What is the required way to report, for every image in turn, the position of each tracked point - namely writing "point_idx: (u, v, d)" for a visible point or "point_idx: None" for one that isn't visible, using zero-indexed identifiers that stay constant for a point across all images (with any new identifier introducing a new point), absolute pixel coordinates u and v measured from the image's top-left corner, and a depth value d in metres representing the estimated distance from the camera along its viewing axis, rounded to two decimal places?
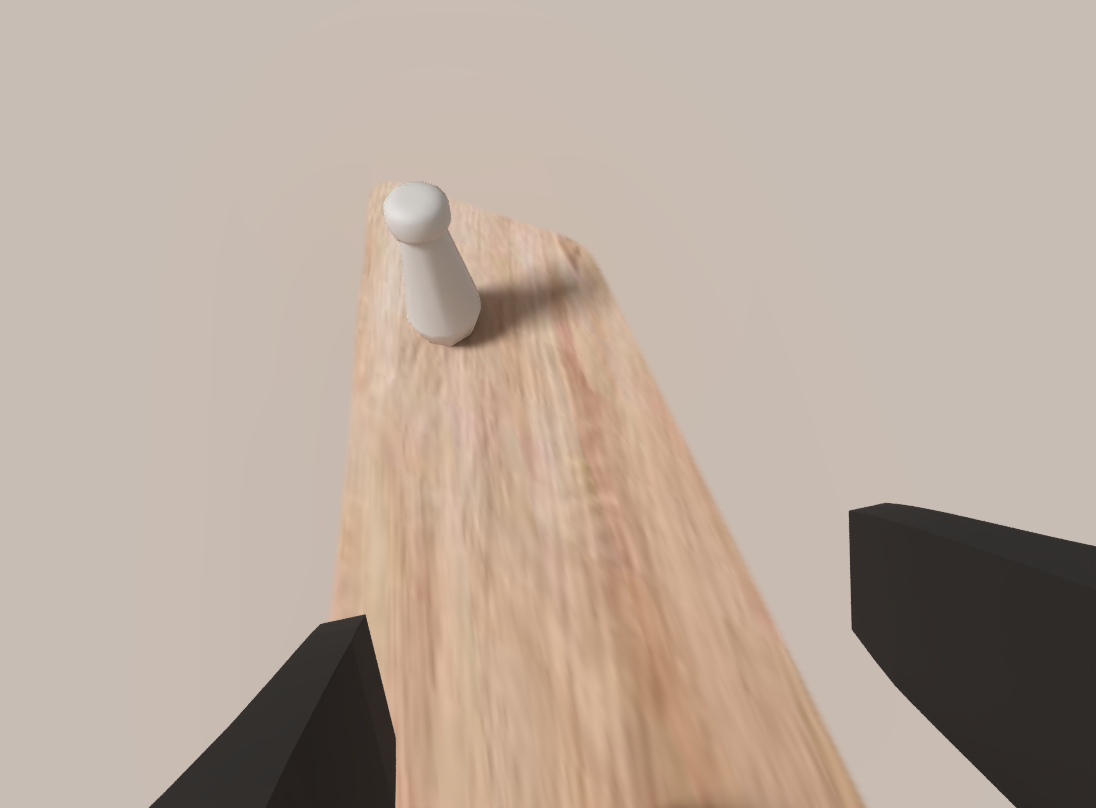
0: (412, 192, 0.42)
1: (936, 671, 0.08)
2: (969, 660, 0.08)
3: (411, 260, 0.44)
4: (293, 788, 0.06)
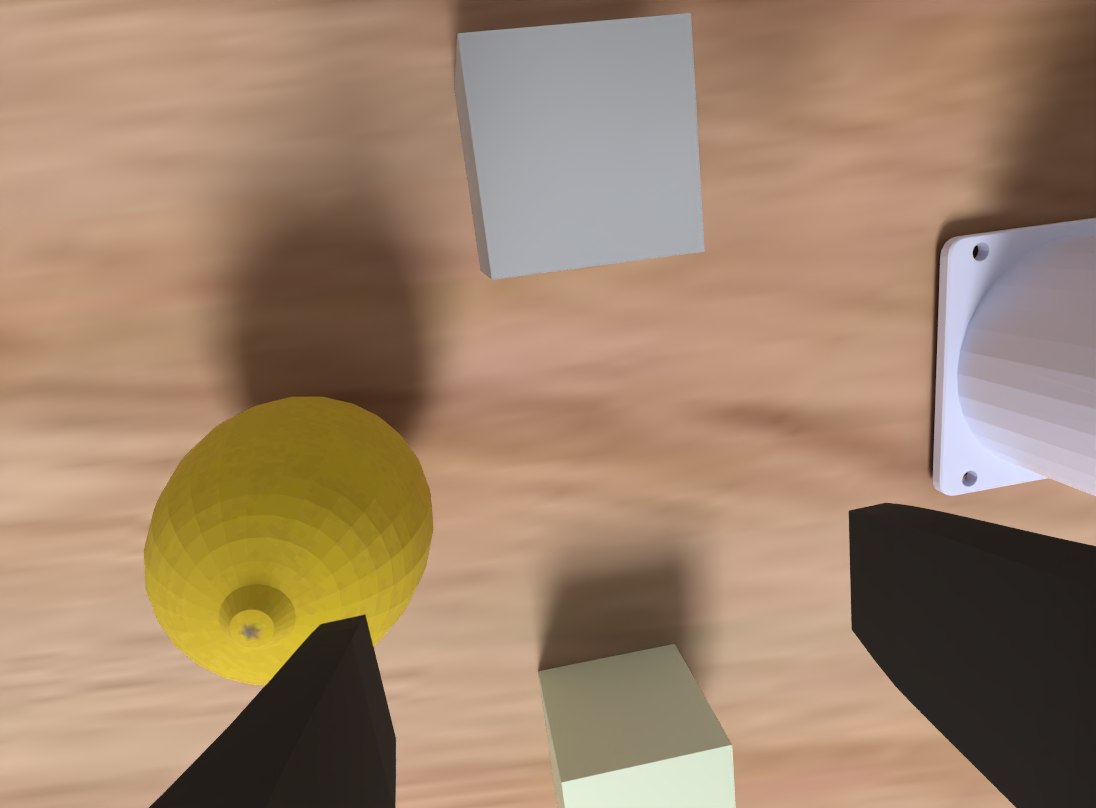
0: None
1: (936, 671, 0.08)
2: (969, 660, 0.08)
3: None
4: (292, 788, 0.05)
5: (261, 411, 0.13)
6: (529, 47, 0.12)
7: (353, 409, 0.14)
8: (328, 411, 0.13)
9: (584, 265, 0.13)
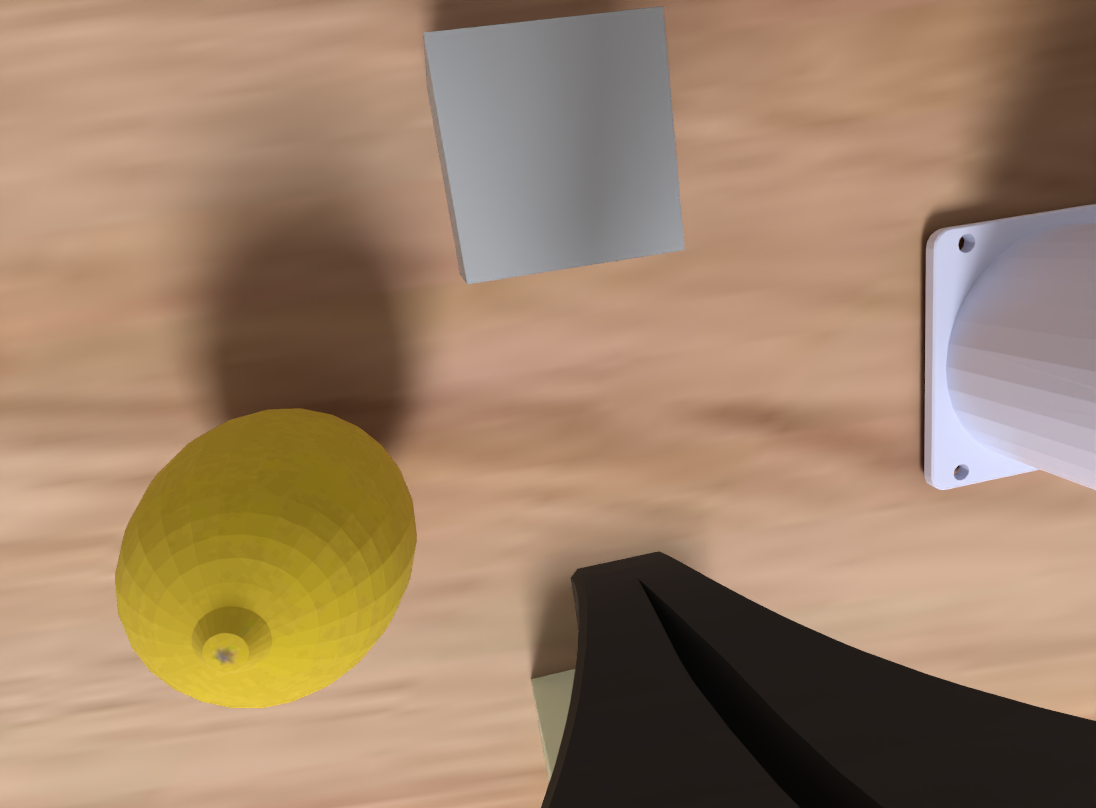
0: None
1: None
2: None
3: None
4: None
5: (235, 426, 0.13)
6: (498, 45, 0.12)
7: (331, 421, 0.14)
8: (304, 423, 0.13)
9: (562, 267, 0.13)
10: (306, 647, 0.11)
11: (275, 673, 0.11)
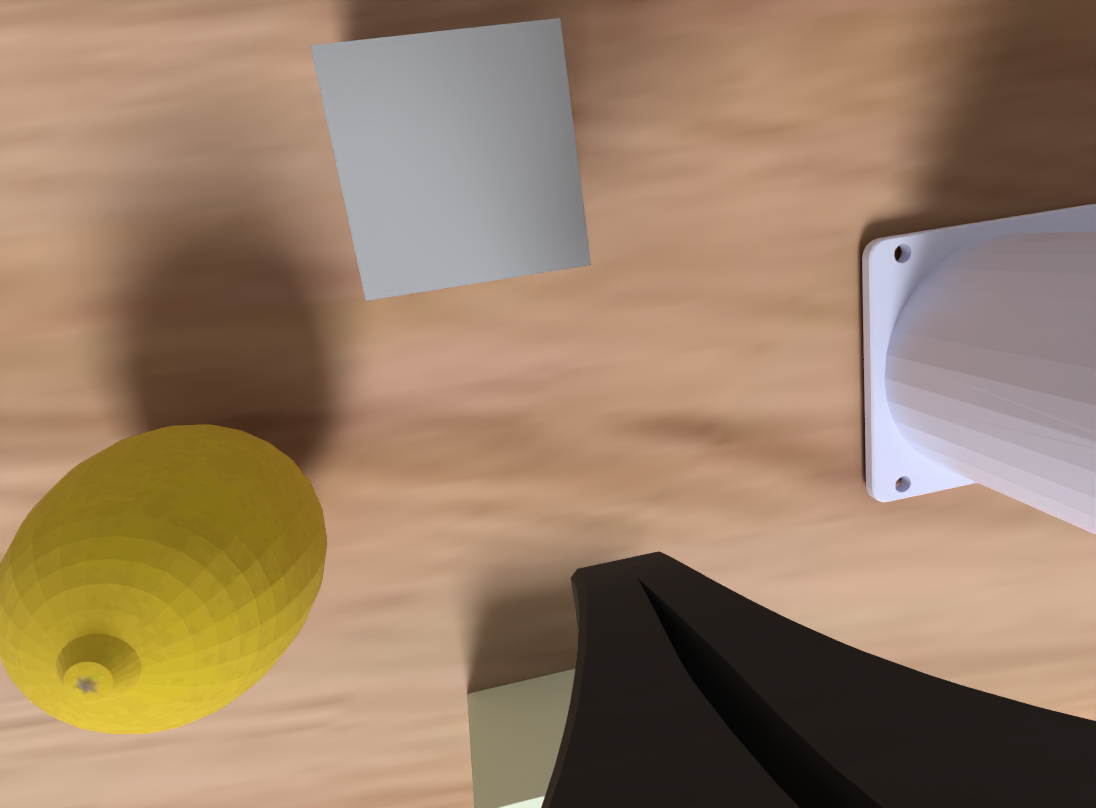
0: None
1: None
2: None
3: None
4: None
5: (127, 444, 0.13)
6: (389, 58, 0.12)
7: (233, 438, 0.14)
8: (200, 441, 0.13)
9: (464, 283, 0.13)
10: (181, 673, 0.11)
11: (149, 701, 0.11)
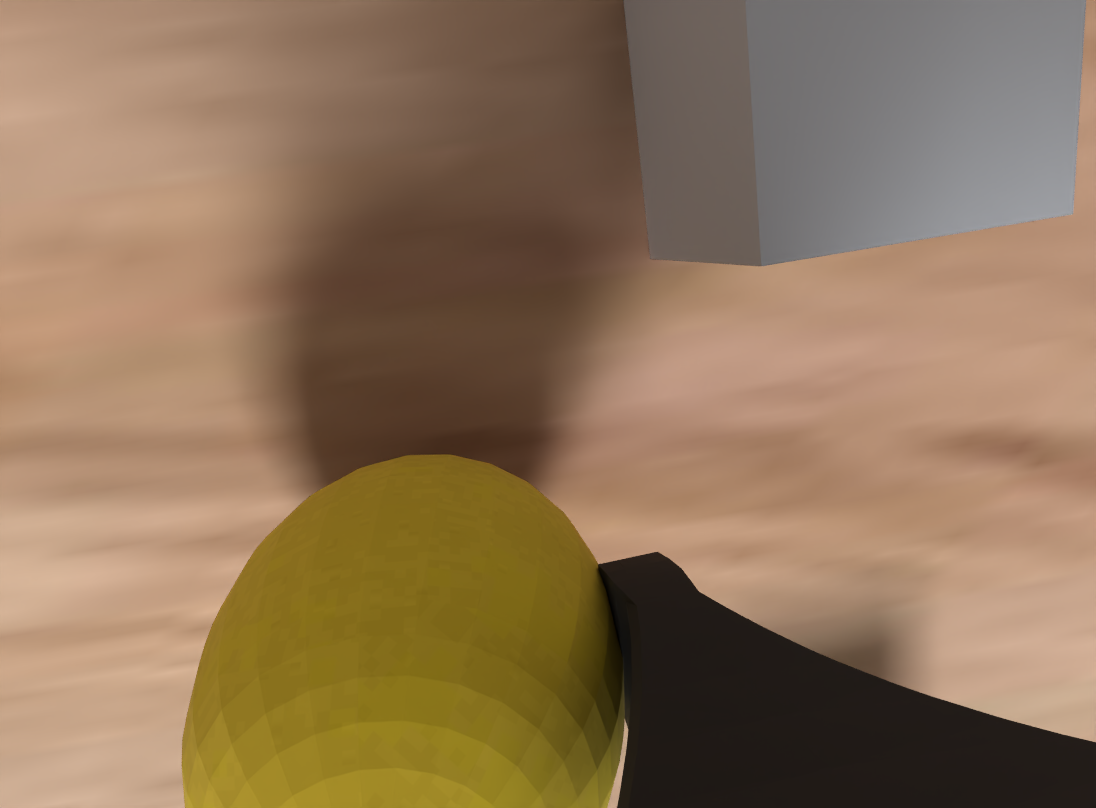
0: None
1: None
2: None
3: None
4: None
5: (365, 492, 0.08)
6: None
7: (501, 480, 0.09)
8: (468, 489, 0.08)
9: (898, 240, 0.08)
10: None
11: None
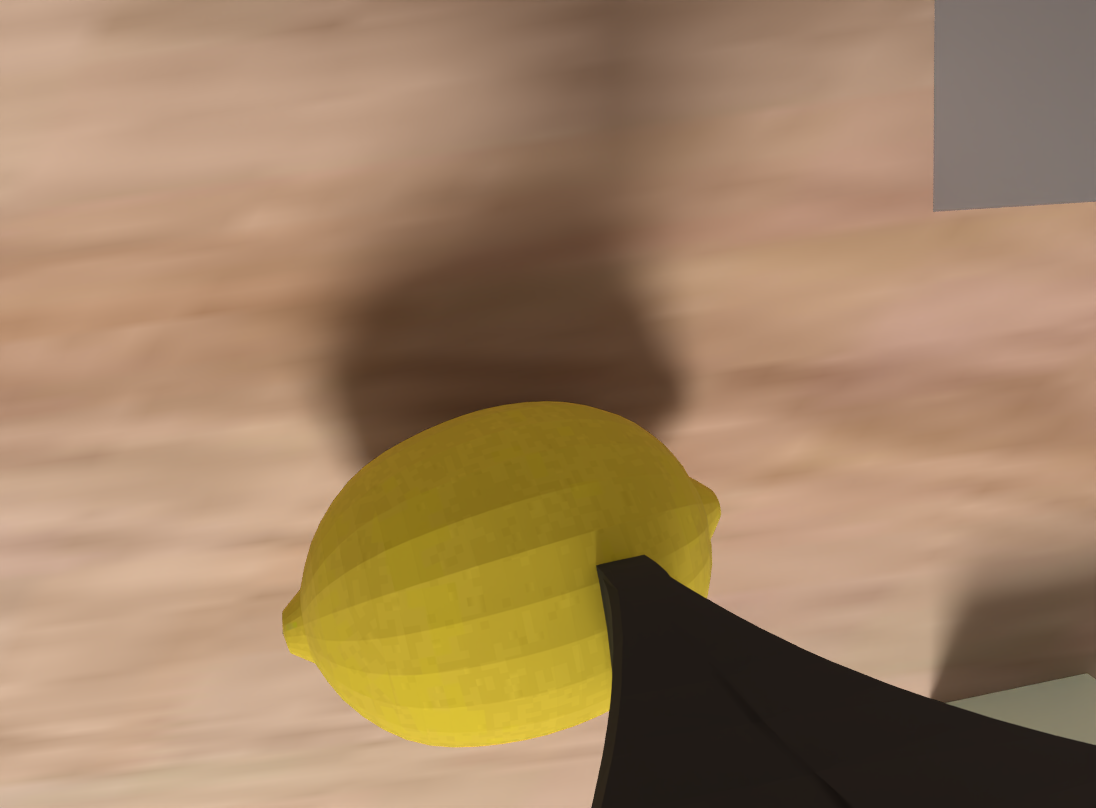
0: None
1: None
2: None
3: None
4: None
5: (473, 416, 0.11)
6: None
7: (547, 456, 0.10)
8: (498, 447, 0.10)
9: None
10: (332, 685, 0.10)
11: None
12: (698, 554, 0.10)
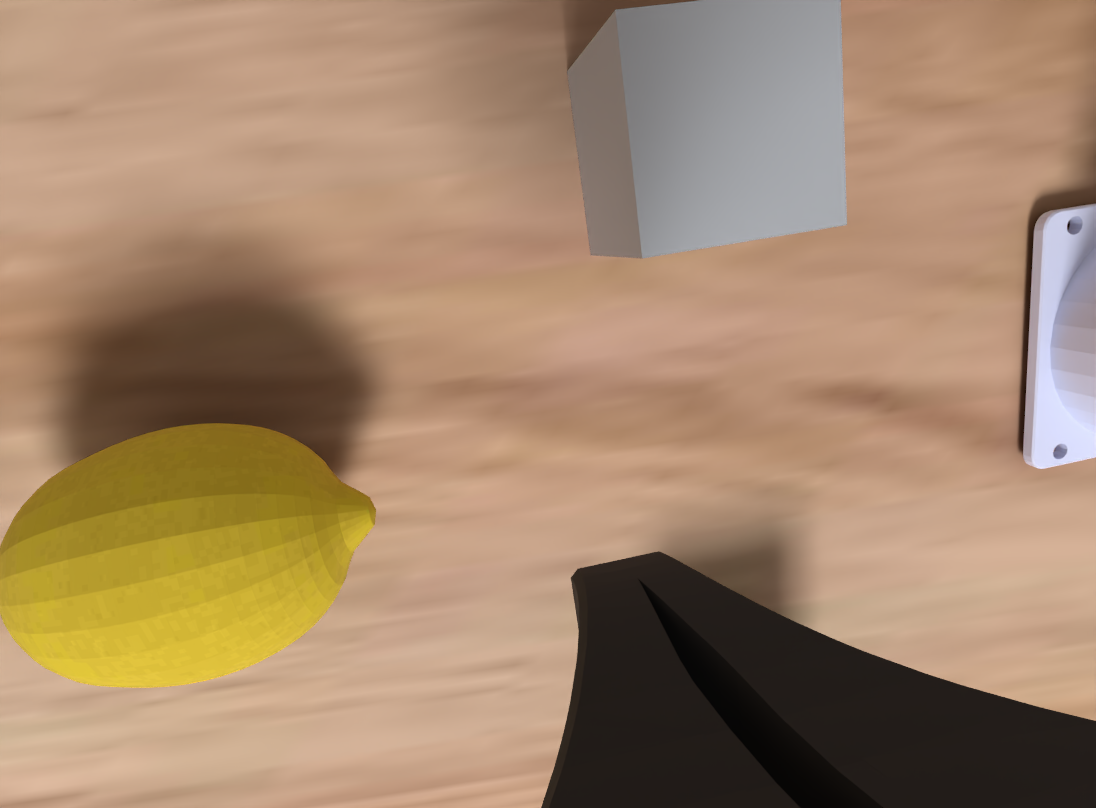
0: None
1: None
2: None
3: None
4: None
5: (140, 437, 0.14)
6: (684, 22, 0.12)
7: (149, 477, 0.12)
8: (121, 467, 0.13)
9: (731, 241, 0.13)
10: None
11: None
12: (282, 558, 0.13)
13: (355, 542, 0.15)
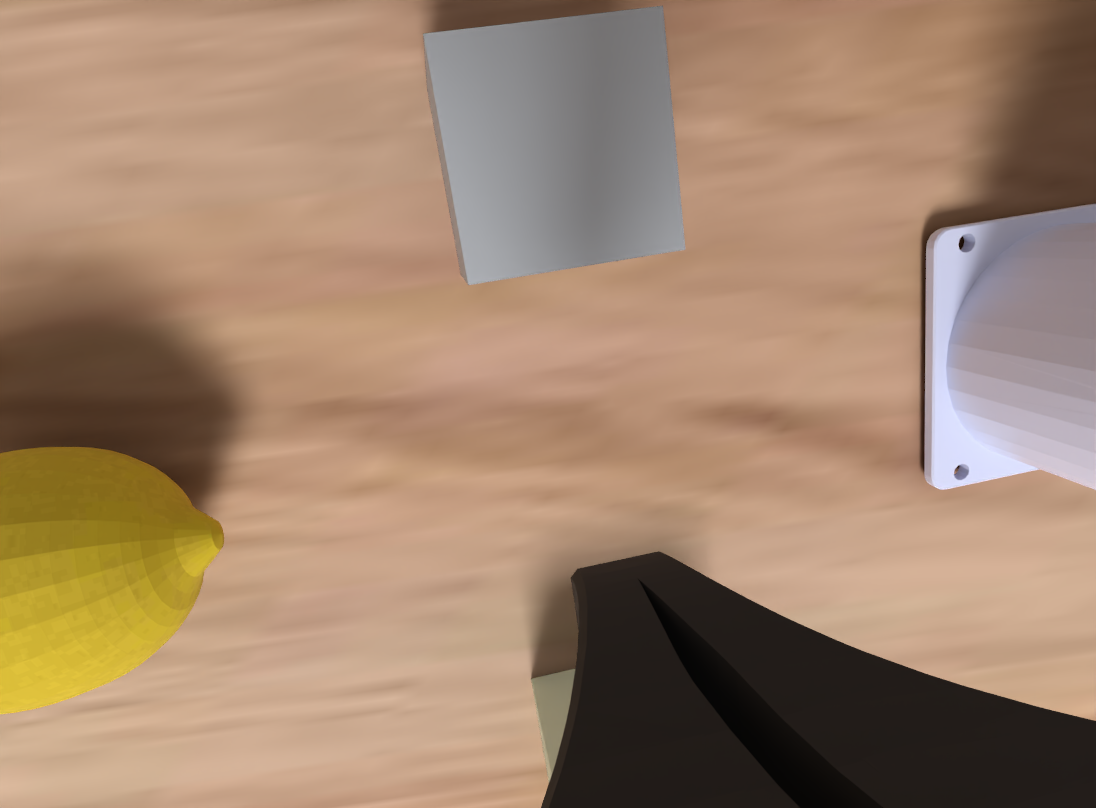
0: None
1: None
2: None
3: None
4: None
5: None
6: (498, 46, 0.12)
7: None
8: None
9: (563, 267, 0.13)
10: None
11: None
12: (100, 585, 0.13)
13: (197, 567, 0.14)
